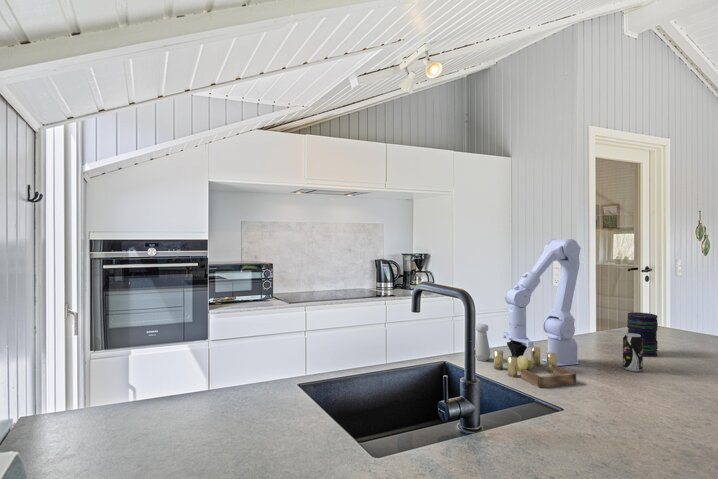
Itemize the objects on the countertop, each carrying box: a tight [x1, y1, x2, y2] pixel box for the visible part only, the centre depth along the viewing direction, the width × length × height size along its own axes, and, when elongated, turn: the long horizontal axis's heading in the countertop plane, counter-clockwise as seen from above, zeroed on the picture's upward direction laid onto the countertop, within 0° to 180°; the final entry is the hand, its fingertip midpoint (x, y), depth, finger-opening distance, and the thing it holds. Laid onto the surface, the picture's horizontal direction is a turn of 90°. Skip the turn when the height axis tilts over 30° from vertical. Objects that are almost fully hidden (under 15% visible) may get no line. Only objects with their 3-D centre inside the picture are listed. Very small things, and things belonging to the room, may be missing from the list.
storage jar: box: [626, 311, 659, 358], centre depth 168 cm, size 10×10×15 cm
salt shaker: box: [475, 323, 491, 362], centre depth 161 cm, size 6×6×13 cm
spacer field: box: [493, 346, 557, 378], centre depth 148 cm, size 18×11×6 cm, turn 106°
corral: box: [520, 366, 577, 389], centre depth 137 cm, size 13×9×3 cm
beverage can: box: [622, 332, 644, 373], centre depth 148 cm, size 6×6×12 cm
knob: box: [517, 355, 533, 372], centre depth 149 cm, size 5×5×5 cm
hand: (517, 363), depth 152 cm, fingers closed
